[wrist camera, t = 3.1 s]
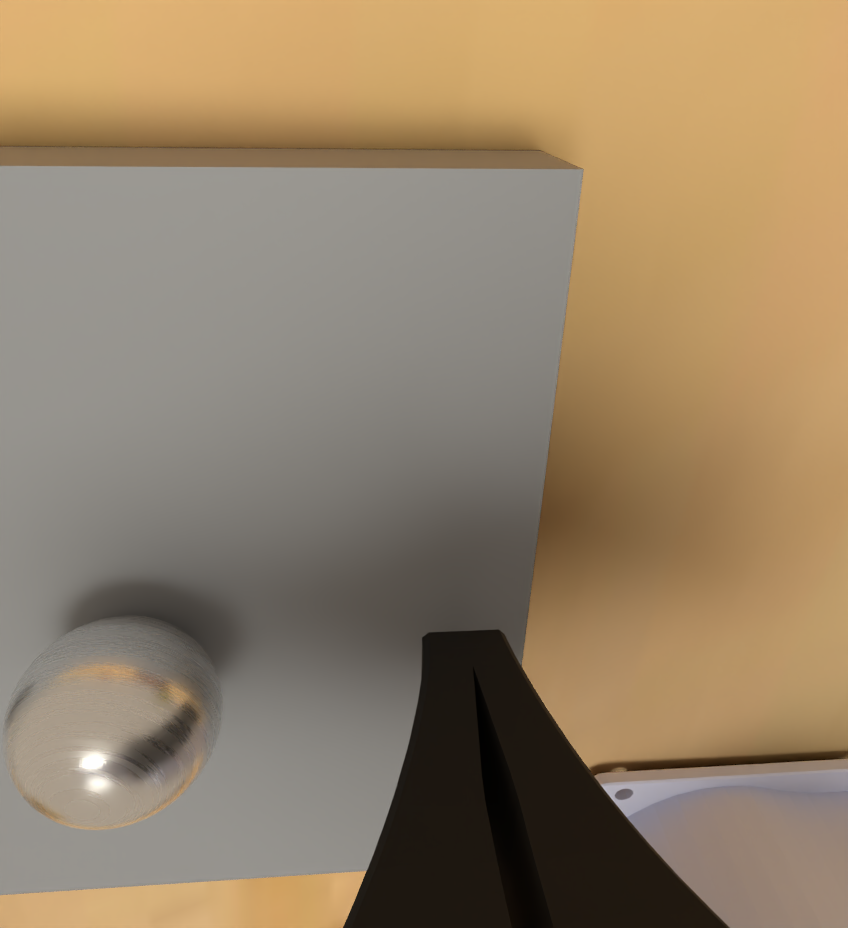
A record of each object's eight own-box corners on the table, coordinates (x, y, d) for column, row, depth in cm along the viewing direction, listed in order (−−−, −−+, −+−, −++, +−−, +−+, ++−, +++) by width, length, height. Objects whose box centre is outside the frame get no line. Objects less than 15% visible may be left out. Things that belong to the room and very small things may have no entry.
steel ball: (225, 572, 11) (179, 731, 9) (247, 698, 13) (214, 866, 10) (31, 578, 11) (-80, 744, 8) (79, 707, 13) (-1, 880, 10)
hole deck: (540, 150, 11) (583, 168, 8) (482, 772, 19) (497, 862, 17) (-863, 139, 9) (-1238, 157, 7) (-271, 814, 17) (-361, 918, 15)
